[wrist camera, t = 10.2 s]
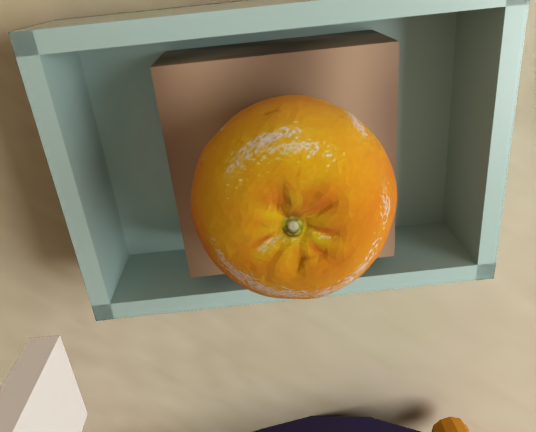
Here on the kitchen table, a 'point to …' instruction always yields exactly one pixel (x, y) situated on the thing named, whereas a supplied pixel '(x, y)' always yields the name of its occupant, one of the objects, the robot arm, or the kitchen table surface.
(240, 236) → the fruit
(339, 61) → the walnut block
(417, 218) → the tote
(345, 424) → the toy
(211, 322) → the kitchen table surface
